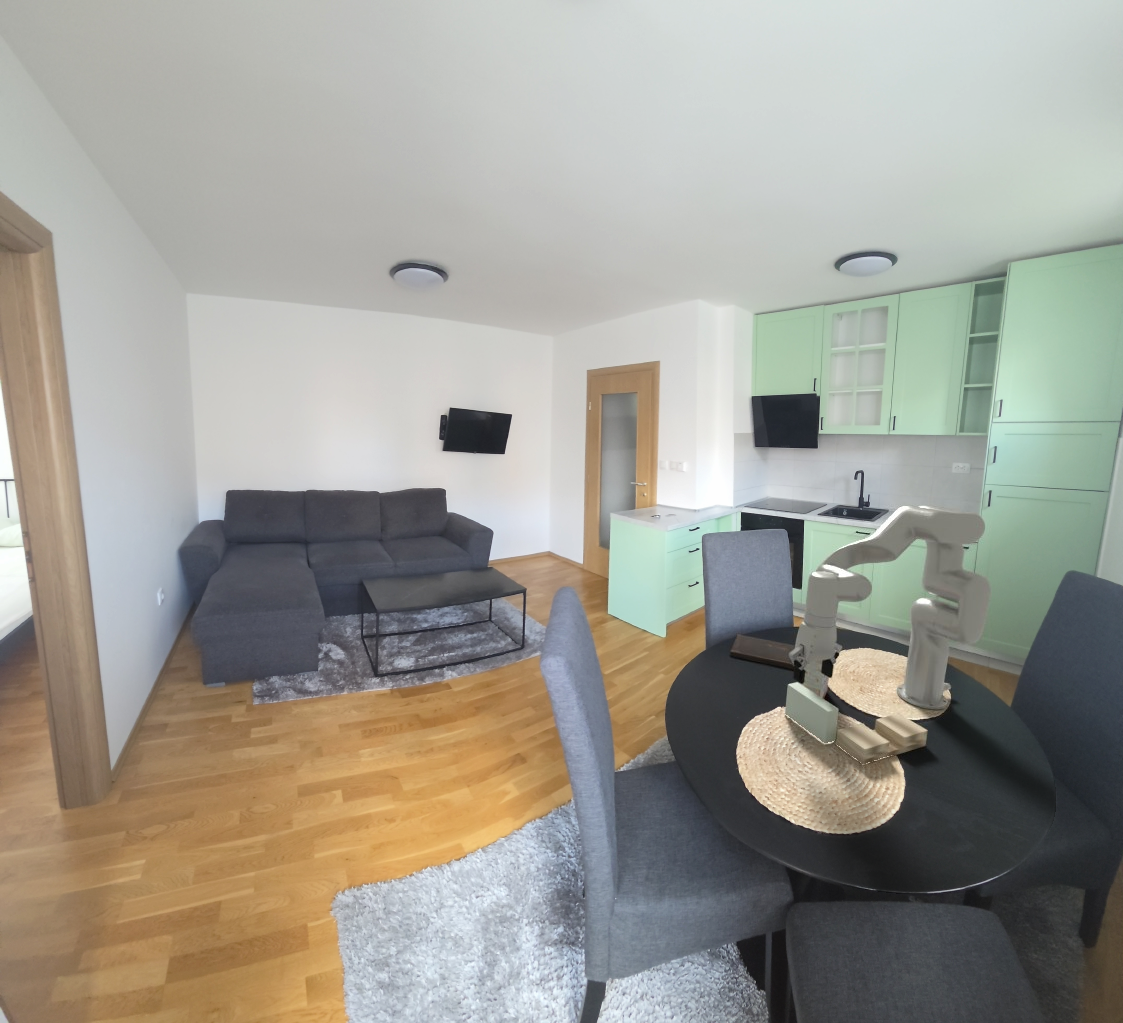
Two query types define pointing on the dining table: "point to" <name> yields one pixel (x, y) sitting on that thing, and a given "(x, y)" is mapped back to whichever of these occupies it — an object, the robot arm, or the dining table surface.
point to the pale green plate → (811, 712)
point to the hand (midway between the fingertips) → (812, 678)
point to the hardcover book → (763, 651)
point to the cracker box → (815, 678)
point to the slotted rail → (881, 738)
